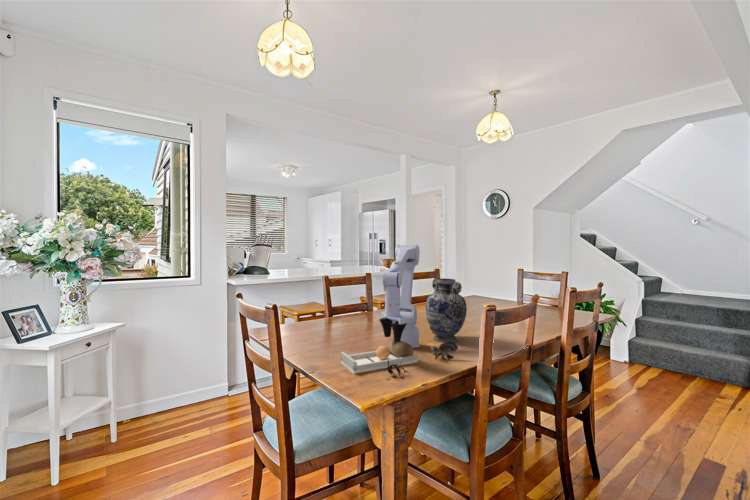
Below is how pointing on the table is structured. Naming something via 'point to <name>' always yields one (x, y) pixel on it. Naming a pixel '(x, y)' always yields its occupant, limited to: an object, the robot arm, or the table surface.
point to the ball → (382, 352)
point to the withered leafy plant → (444, 349)
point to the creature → (396, 369)
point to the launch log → (400, 348)
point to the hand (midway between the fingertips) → (392, 339)
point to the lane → (373, 361)
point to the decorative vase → (446, 310)
